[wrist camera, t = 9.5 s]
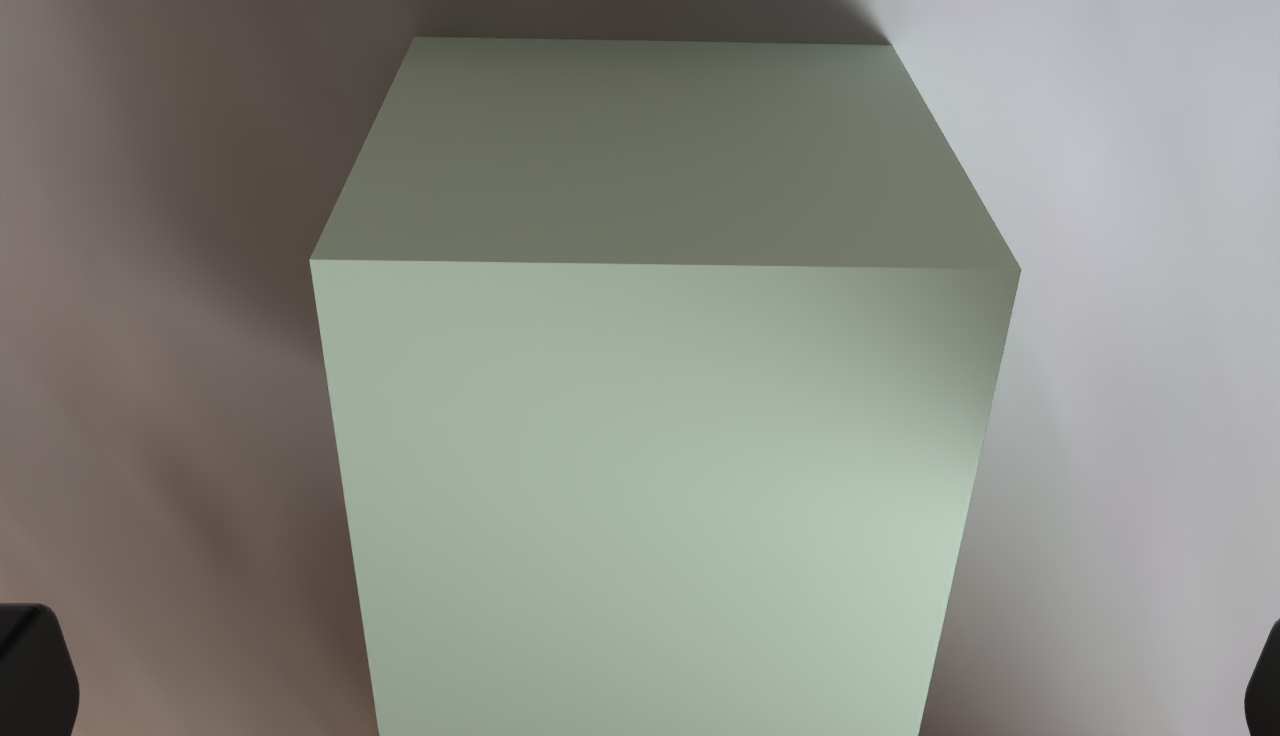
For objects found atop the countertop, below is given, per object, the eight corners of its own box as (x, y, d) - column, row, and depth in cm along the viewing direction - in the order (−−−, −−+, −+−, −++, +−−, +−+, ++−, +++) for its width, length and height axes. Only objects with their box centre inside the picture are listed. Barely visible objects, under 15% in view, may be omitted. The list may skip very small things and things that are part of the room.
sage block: (837, 426, 15) (917, 741, 11) (447, 422, 15) (379, 738, 11) (891, 42, 13) (1020, 270, 8) (414, 33, 13) (310, 259, 8)
